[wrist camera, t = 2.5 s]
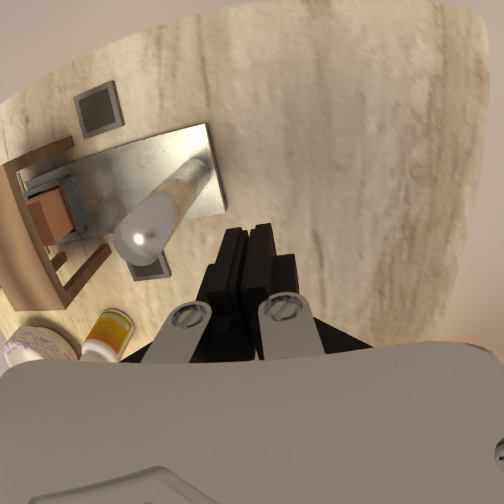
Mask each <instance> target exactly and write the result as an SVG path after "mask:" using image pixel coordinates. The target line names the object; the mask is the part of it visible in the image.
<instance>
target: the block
mask: <svg viewBox="0 0 504 504" xmlns="http://www.w3.org/2000/svg"><path fill="white" fill-rule="evenodd" d="M26 204H27V207H28V209H29V212H30V215H31V217H32V220H33V222H34V225H35V227H36V230H37V232H38V234H39V237H40V239H41V241H42V244H43V246H48V245H52V244H56V243H58V242H59V241H60V240H61V239H62V238H63V237H64V236H65V235H66V234H68V233H69V232H70V231H71V230H72V229H73V228H75V227H74V224H73V222H72V219H71V217H70V214H69V211H68V209H67V206H66V203H65V200H64V198H63V195H62V192H61V189H60V186H59V187H56V188H53V189H50V190H47V191H45V192H42V193H39V194H37V195H35V196H34V197H32V198H31V199H29V200H28V201H26Z"/></svg>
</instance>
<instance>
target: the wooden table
mask: <svg viewBox="0 0 504 504" xmlns="http://www.w3.org/2000/svg"><path fill="white" fill-rule="evenodd" d="M73 98H74V102H75V107H76V111H77V115H78V119H79V123H80V126H81V130H82V134H83V138H84V140H85V139H87V138H90V137H93V136H95V135H98V134H101V133H103V132H106V131H109V130H112V129H115V128H118V127H121V126H123V125H124V121H123V117H122V113H121V109H120V105H119V100H118V96H117V92H116V88H115V83H114V81H110V82H107V83H105V84H102V85H100V86H98V87H95V88H93V89H91V90H89V91H86V92H84V93H82V94H80V95H78V96H76V97H73ZM72 146H74V143H73V140H72V136H69V137H67V138H64V139H61V140H59V141H56V142H53V143H51V144H48V145H46V146H43V147H41V148H38V149H36V150H33V151H31V152H29V153H26V154H24V155H22V156H20V157H17V158H15V159H13V160H11V161H9V162H6V163H4V164H2V165H1V166H0V285H1V287H2V289H3V291H4V293H5V295H6V296H7V298H8V300H9V302H10V303H11V305H12V307H13V309H14V310H15V311H48V310H66V309H67V307H68V306H69V305H70V303H71V302H72V301H73V299H74V298H75V297H76V296H77V294H78V293H79V292H80V291H81V289H82V288H83V287H84V285H85V284H86V283H87V282H88V280H89V279H90V278H91V277H92V276H93V274H94V273H95V272H96V271H97V269H98V268H99V267H100V266H101V265H102V263H103V262H104V261H105V260H106V259H107V257H108V256H109V255H110V254H111V251H110V248H109V246H108V244H107V245H101V246H100V247H99V248H98V249H97V250H96V251H95V252H94V253H93V254H92V255H91V256H90V257H89V258H88V260H87V261H86V262H85V263H84V264H83V265H82V266H81V267H80V268H79V270H78V271H77V272H76V273H75V274H74V275H73V276H72V278H71V279H70V280H69V281H68V282H67V283H66V285H65V286H64V287H63V286H62V284H61V282H60V280H59V278H58V276H57V274H56V271H57V270H58V269H59V268H60V267H61V266H62V265H63V264H64V263H65V262H66V261H67V259H66V257H65V254H64V252H63V253H58V254H57V255H56V256H55V257H54V258H53V259H52V260H51V261H50V259H49V257H48V255H47V254H49V253H50V252H49V250H48V248H47V246H43V244H42V241H41V239H40V237H39V234H38V232H37V230H36V227H35V225H34V222H33V220H32V217H31V215H30V212H29V209H28V207H27V204H26V201H25V198H24V195H23V193H24V192H25V189H24V186H23V183H22V180H21V177H20V174H19V173H17V174H16V172H17V171H19V170H21V169H23V168H25V167H27V166H29V165H32V164H34V163H36V162H38V161H40V160H42V159H44V158H47V157H49V156H51V155H53V154H55V153H58V152H60V151H62V150H65V149H67V148H69V147H72ZM125 261H126V260H125ZM126 263H127V265H128V268H129V270H130V273H131V275H132V277H133V280H134V281H142V280H151V279H160V278H169V277H171V272H170V269H169V266H168V264H167V261H166V258H165V255H164V252H163V250H162V252H161V253H160V255H159V257H158V258H157V260H156V261H155V262H153V263H152V264H150V265H147V266H137V265H133V264H131V263H129V262H127V261H126Z"/></svg>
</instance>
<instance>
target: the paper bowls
mask: <svg viewBox="0 0 504 504" xmlns="http://www.w3.org/2000/svg"><path fill="white" fill-rule="evenodd" d="M4 355H5V358H6V361H7V363H8V365H9V366H10V368H11V367H13V366H15V365H17V364H20V363H23V362H26V361H31V360H38V359H61V360H78V359H77V356H76V353H75V351H74V350H73V348H72V347H71V345H70V344H69V343H68V342H67V341H66V340H65V339H64V338H63V337H61V336H60V335H59V334H57V333H56V332H54V331H52V330H50V329H48V328H44V327H36V328H35V327H32V326H22V327H20V328H18V330H17V331H16V332H15V333H14V334H13V335H12V336H11V337H10V339H9V340H8V341H7V343H6V344H5V346H4Z"/></svg>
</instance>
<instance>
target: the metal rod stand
mask: <svg viewBox="0 0 504 504" xmlns="http://www.w3.org/2000/svg"><path fill="white" fill-rule="evenodd" d="M25 183H26V186H27V189H28V190H27V191H25V192H24V193H23V195H24V198H25V201H28V200H29V199H31V198H32V197H34V196H35V195H37V194H39V193H42V192H45V191H47V190H50V189H53V188H56V187H59V186H60V189H61V192H62V195H63V198H64V200H65V203H66V206H67V209H68V211H69V214H70V217H71V219H72V222H73V224H74V227H75V228H73V229H72V230H71V231H70V232H69V233H68V234H66V235H65V236H64V237H63V238H62V239H61V240H60V241H59V242H58V243H56V244H52V245H57V244H61V243H66V242H71V241H76V240H80V239H85V238H90V237H95V236H100V235H105V234H110V233H114V234H113V242H114V246H115V248H116V250H117V252H118V253H119V255H120V256H121V257H122V258H123V259H124V260H126V261H127V262H129V263H131V264H133V265H137V266H147V265H150V264H152V263H153V262H155V261H156V260H157V258H158V257H159V255H160V253H161V252H162V250H163V249H164V247H165V246H166V244H167V242H168V241H169V239H170V238H171V236H172V235H173V233H174V232H175V230H176V229H177V227H178V226H179V224H180V223H181V221H182V220H187V219H193V218H199V217H205V216H211V215H217V214H224V213H226V210H227V208H226V204H225V200H224V195H223V191H222V187H221V183H220V178H219V174H218V170H217V166H216V161H215V157H214V153H213V148H212V144H211V140H210V135H209V131H208V126H207V123H204V124H200V125H195V126H191V127H187V128H183V129H179V130H175V131H171V132H167V133H164V134H160V135H156V136H153V137H149V138H146V139H142V140H139V141H135V142H132V143H129V144H125V145H122V146H119V147H116V148H113V149H110V150H107V151H104V152H101V153H98V154H95V155H92V156H89V157H86V158H84V159H81V160H78V161H75V162H73V163H70V164H67V165H65V166H62V167H60V168H57V169H55V170H52V171H50V172H47V173H45V174H42V175H40V176H38V177H35V178H33V179H31V180H29V181H27V182H25ZM52 245H50V246H52Z"/></svg>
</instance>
